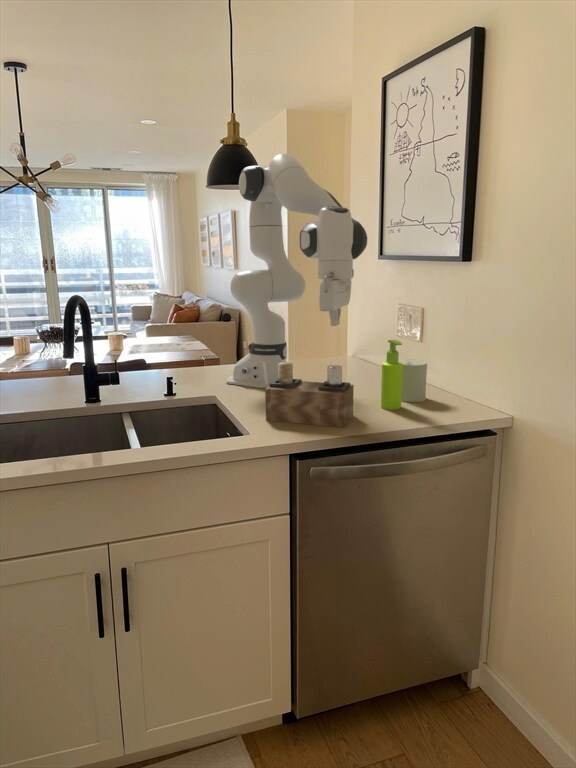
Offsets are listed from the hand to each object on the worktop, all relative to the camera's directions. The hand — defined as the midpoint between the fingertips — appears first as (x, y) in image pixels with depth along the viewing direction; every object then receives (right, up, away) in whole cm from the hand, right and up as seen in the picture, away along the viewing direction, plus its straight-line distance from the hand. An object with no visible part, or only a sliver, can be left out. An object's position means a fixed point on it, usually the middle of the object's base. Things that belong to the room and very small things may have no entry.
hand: (335, 325), depth 148 cm
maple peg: (-13, -18, +9) cm, 24 cm away
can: (+26, -20, +27) cm, 43 cm away
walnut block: (-6, -25, +8) cm, 27 cm away
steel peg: (0, -19, +5) cm, 19 cm away
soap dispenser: (+18, -23, +18) cm, 34 cm away
